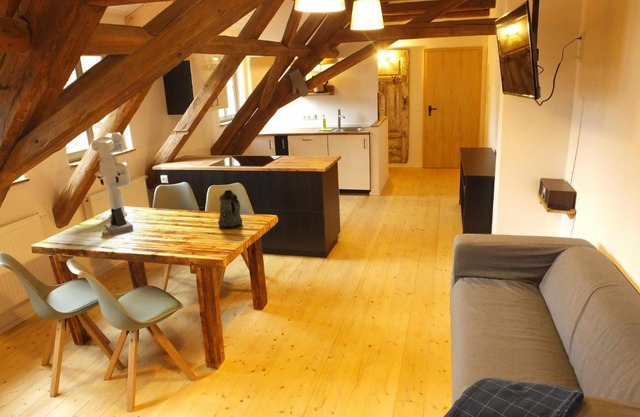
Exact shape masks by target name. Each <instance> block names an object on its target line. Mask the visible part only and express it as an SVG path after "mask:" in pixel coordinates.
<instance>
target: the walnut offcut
mask: <svg viewBox="0 0 640 417" xmlns="http://www.w3.org/2000/svg"><path fill="white" fill-rule="evenodd" d="M101 236H102V237H103V238H108V237H112V235H111V232H110V231H108V230H104V231H101Z"/></svg>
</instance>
